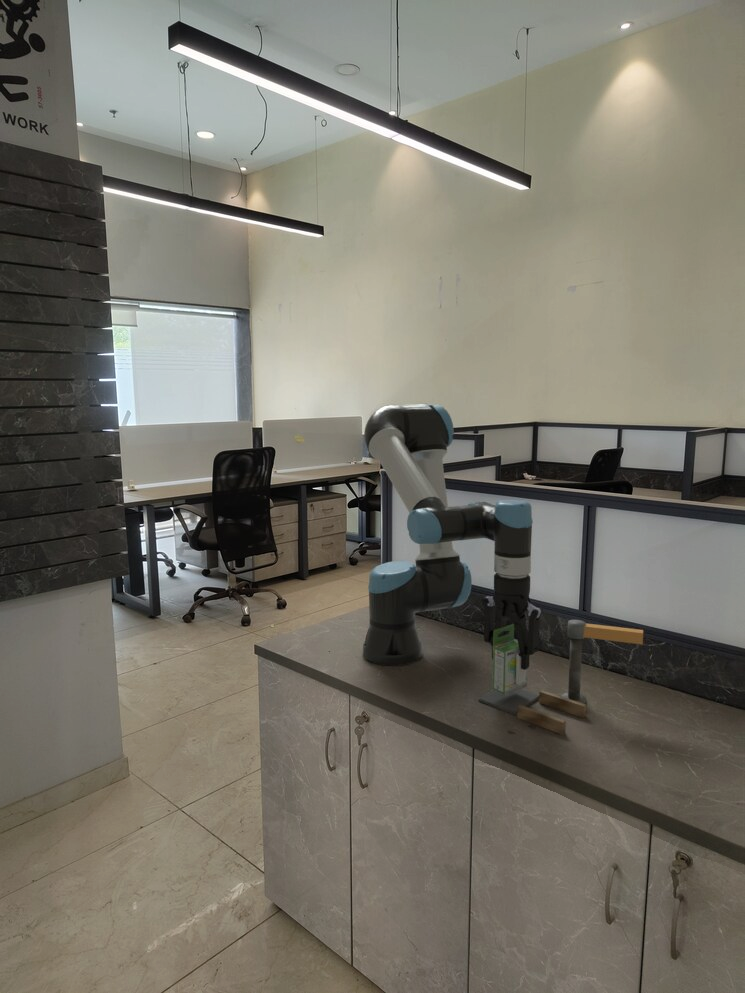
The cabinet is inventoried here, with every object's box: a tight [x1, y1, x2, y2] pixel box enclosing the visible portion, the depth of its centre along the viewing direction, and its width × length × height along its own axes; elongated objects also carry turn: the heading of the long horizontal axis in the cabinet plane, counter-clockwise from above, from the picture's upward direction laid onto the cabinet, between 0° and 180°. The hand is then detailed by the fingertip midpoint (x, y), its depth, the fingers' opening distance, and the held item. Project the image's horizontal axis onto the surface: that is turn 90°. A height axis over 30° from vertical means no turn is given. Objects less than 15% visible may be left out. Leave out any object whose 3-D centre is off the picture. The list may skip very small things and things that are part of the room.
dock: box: [516, 637, 587, 736], centre depth 133 cm, size 10×18×14 cm, turn 137°
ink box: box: [491, 623, 528, 695], centre depth 138 cm, size 7×4×13 cm, turn 127°
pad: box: [478, 688, 539, 715], centre depth 139 cm, size 9×10×1 cm
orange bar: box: [567, 619, 644, 645], centre depth 134 cm, size 15×4×3 cm, turn 68°
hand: (509, 678), depth 138 cm, fingers closed on ink box, 4 cm apart
